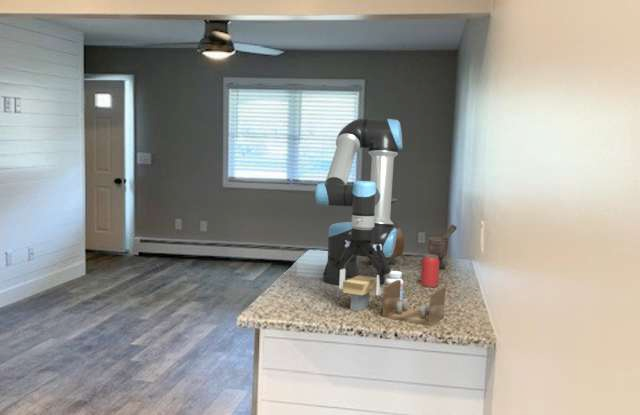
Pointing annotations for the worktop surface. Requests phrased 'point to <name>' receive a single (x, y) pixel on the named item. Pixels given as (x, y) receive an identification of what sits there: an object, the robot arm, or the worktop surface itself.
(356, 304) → the riser block
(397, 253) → the vase
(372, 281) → the shelf board
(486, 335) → the worktop surface
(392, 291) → the peg frame
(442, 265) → the mortar and pestle
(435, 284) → the beer can
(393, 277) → the pill bottle
